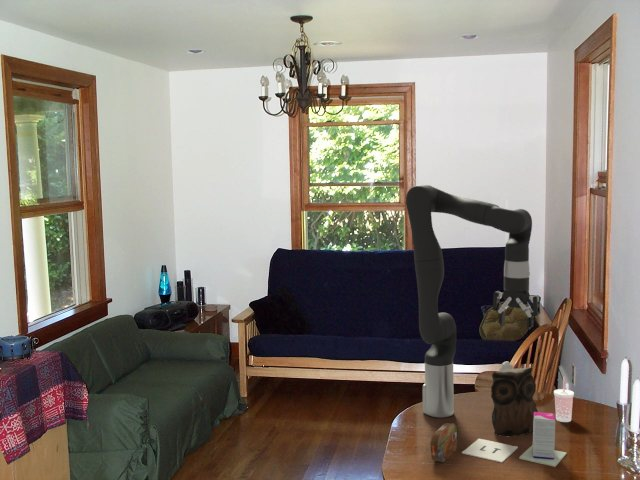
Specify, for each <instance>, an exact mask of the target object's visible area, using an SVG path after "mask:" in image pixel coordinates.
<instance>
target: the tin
mask: <svg viewBox="0 0 640 480" xmlns="http://www.w3.org/2000/svg"><path fill="white" fill-rule="evenodd" d="M458 444H459V430H458V426H457V424H456V423H450V422H449V423H448V422H446V423H443V424H442V425H441V426H440V427H439V428H438V429H436V430H435V432H433V434H432V436H431V439H430V456H431V459H432V460H433V461H434V462H440V463H445V462H446V461H447V460H448V459H449V458H450V457H451V456H452V455H453V454H454V453H455V452H456V451H457V448H458Z"/></svg>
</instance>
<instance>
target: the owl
mask: <svg viewBox="0 0 640 480" xmlns="http://www.w3.org/2000/svg"><path fill="white" fill-rule="evenodd" d="M532 371H533V367H532V366H531V367H530V366H529V367H522V368H521V367H520V368H514V369H508V370H504V371H500V372H499V371H493V372H492V374H491V377H492V383H491V387H490V389H491V390H490V393H491V395H490V397H491V399H492V402H493V409H492V414H491V423H492V427H493V430H494V431H493V433H494V434H495V435H496V434H497V435H496V436H498V435H501V437H507V436H510V438H511V436H512V437H514V436H521V434H522V435H528V434H530V433H531V432H532V431H533V419H534V412H539V411H538V408H537V403H536V402H535V401H534V399H533V397H534V395H535V394H536V391H537V390H536V389H537V388H536V387H537V384H536V380H535V377H534V376H533V374H532ZM513 435H514V436H513Z"/></svg>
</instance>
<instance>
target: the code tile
mask: <svg viewBox="0 0 640 480" xmlns="http://www.w3.org/2000/svg"><path fill="white" fill-rule="evenodd" d="M518 449H519V446H516V445H511V444H507V443H501V442H497V441H492V440H488V439H483V438H477V439H476V440H475V441H474V442H473V443H472V444H471V445H469V446H467V448H466V449H464V450H463V451H461V454H462V455H467V456H471V457H476V458H479V459H484V460H489V461H491V462H492V461H493V462H497V463H504V462H505V461H506V460H507V459H508V458H509V457H510V456H511V455H512V454H513V453H514V452H515V451H517V450H518Z"/></svg>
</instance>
